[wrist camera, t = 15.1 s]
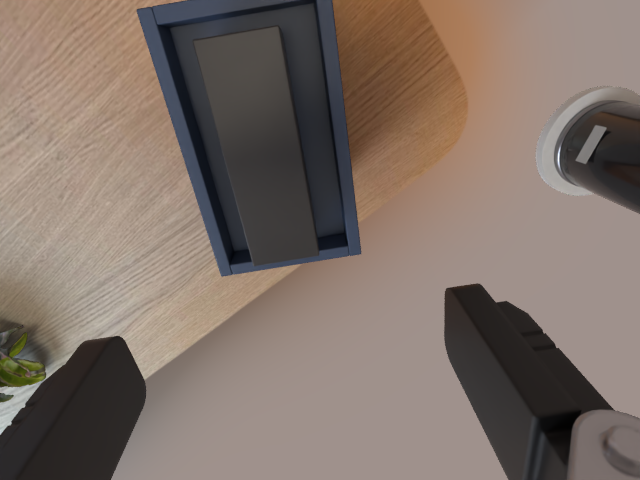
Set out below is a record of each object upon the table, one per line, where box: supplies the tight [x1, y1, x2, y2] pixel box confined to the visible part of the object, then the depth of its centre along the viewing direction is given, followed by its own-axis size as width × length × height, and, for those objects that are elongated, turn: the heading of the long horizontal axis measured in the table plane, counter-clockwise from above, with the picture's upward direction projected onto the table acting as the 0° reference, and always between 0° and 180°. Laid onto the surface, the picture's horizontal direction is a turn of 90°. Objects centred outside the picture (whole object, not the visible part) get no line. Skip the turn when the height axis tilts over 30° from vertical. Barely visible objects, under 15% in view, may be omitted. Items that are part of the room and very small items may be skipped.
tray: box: [137, 0, 361, 276], centre depth 23 cm, size 10×16×2 cm, turn 9°
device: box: [193, 25, 319, 266], centre depth 21 cm, size 12×4×4 cm, turn 9°
